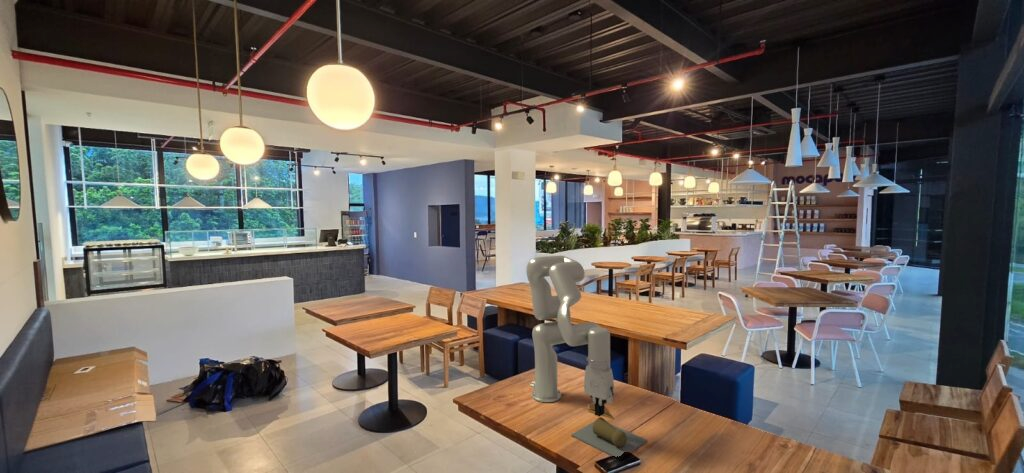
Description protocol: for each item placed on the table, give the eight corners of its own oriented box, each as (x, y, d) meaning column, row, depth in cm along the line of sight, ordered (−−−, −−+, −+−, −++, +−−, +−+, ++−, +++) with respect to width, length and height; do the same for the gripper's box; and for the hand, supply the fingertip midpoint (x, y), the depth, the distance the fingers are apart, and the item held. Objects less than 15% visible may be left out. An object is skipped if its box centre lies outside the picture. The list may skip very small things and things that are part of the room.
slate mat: (571, 436, 149) (571, 434, 149) (598, 420, 159) (598, 418, 159) (620, 460, 134) (620, 458, 134) (646, 441, 144) (646, 439, 144)
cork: (594, 417, 147) (619, 432, 138) (606, 417, 150) (631, 431, 141) (590, 434, 146) (615, 450, 137) (602, 434, 150) (627, 449, 141)
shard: (612, 420, 160) (612, 415, 160) (592, 421, 160) (592, 416, 160) (603, 407, 171) (603, 402, 171) (584, 408, 170) (584, 403, 170)
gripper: (575, 360, 151) (576, 411, 152) (610, 372, 140) (611, 426, 141) (588, 355, 156) (589, 404, 157) (623, 366, 145) (623, 418, 146)
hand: (599, 414), depth 149 cm, fingers closed
